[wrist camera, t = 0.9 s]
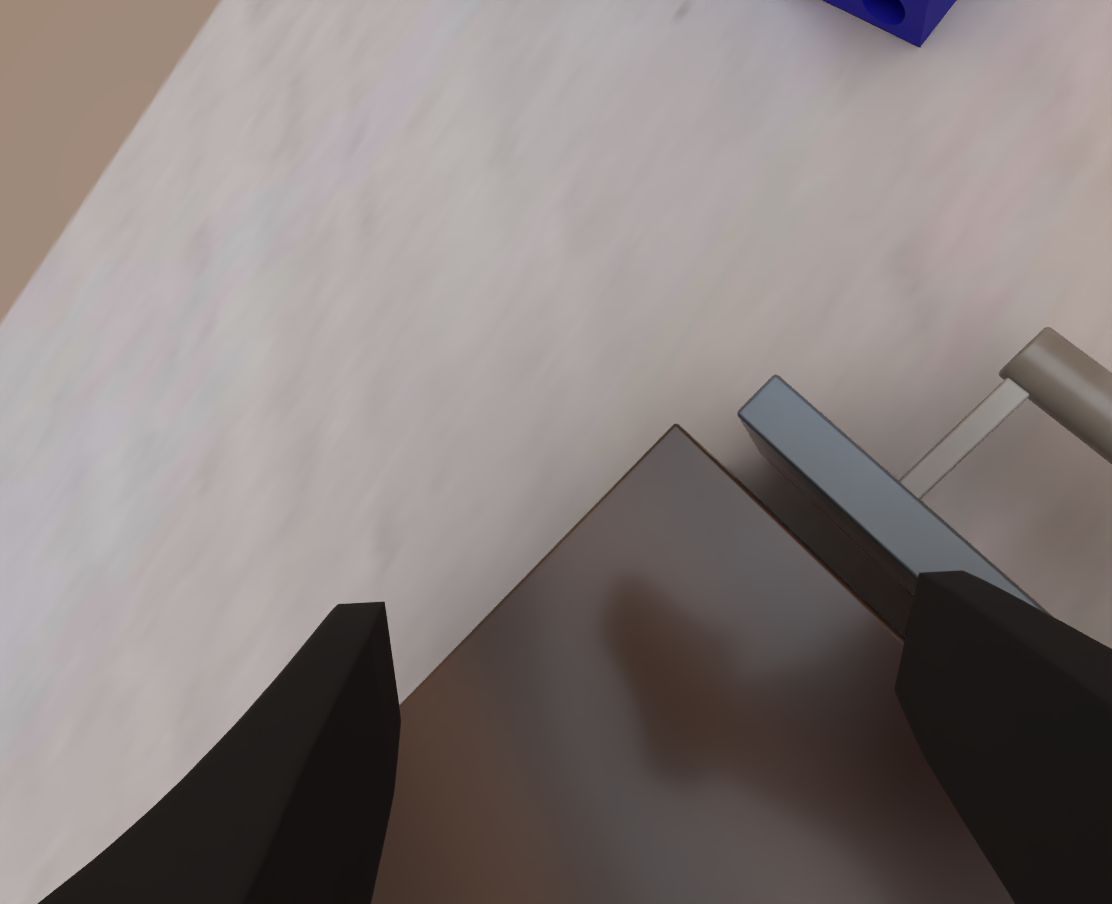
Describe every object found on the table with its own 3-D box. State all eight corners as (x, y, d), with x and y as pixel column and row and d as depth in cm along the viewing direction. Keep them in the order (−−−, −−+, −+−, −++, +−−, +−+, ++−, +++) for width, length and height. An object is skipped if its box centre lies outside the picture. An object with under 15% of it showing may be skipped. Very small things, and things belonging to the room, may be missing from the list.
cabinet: (723, 465, 24) (674, 421, 16) (1137, 861, 20) (1351, 1068, 12) (437, 751, 26) (268, 837, 18) (754, 1174, 21) (715, 1535, 14)
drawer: (913, 298, 22) (949, 196, 16) (1370, 655, 18) (1667, 708, 12) (503, 706, 24) (393, 758, 18) (822, 1104, 20) (822, 1349, 14)
